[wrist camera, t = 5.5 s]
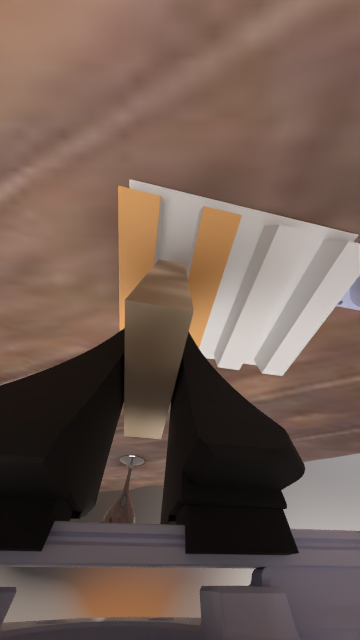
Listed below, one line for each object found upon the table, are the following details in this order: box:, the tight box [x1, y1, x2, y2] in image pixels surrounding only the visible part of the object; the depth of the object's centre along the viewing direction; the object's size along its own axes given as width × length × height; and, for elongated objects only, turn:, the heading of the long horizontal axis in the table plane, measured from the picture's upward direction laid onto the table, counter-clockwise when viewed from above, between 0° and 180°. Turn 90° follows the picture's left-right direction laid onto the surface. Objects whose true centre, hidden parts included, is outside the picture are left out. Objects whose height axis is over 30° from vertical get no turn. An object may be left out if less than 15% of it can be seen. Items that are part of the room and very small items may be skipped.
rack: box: [118, 179, 360, 376], centre depth 17 cm, size 22×18×3 cm
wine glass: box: [102, 455, 145, 524], centre depth 36 cm, size 8×8×15 cm
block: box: [124, 260, 194, 439], centre depth 10 cm, size 2×8×8 cm, turn 170°
